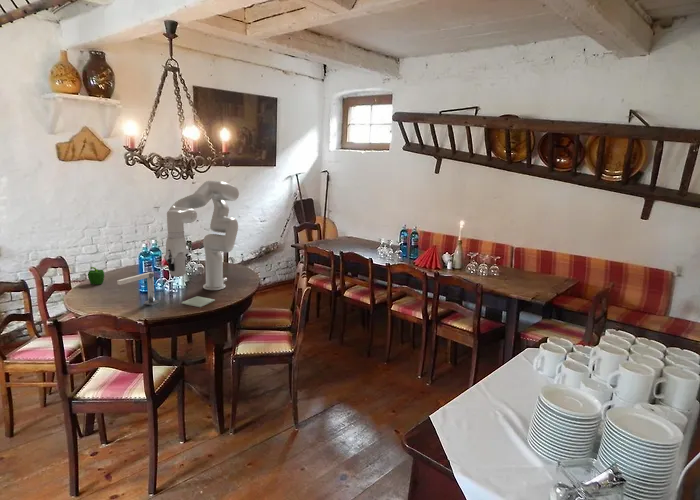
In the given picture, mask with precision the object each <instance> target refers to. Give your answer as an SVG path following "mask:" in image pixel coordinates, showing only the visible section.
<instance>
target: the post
mask: <svg viewBox="0 0 700 500" xmlns="http://www.w3.org/2000/svg"><path fill="white" fill-rule="evenodd" d="M154 277H155V276H154ZM154 277H148V278H146V279H147V280H146V282H147V283H146V285H147V299H148V300H146V301H143V305H147V306H155V305H157V304H159V303H160V300H158V299H156V298H155V279H154Z"/></svg>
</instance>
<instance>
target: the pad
mask: <svg viewBox="0 0 700 500" xmlns="http://www.w3.org/2000/svg"><path fill="white" fill-rule="evenodd" d="M213 302H216V299H213V298H209V297H204V296H198V295H196V296H194V297H191V298H189V299H187V300H184V301H182V302H181V304H182V305H187V306H190V307H191V306H193V307H197V308H202V307H204V306H206V305H209V304H212V303H213Z"/></svg>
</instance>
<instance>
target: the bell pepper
mask: <svg viewBox="0 0 700 500" xmlns="http://www.w3.org/2000/svg"><path fill="white" fill-rule="evenodd" d="M87 278H88V281H89V283H90V284H91V285H97V286H98V285H101V284H103V283H104V281H105V271H104V270H103V269H99V268H98V269H97V268H96V267H95V266H92V267H91V266H90V269H89V271H88V273H87Z"/></svg>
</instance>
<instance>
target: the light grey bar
mask: <svg viewBox="0 0 700 500" xmlns="http://www.w3.org/2000/svg"><path fill="white" fill-rule="evenodd" d="M148 277H155V272H154V271H148V272H145V273H141V274H137V275H132V276H129V277H125V278H122V279H118V280H116V281H117V283H116V284H117V285H119V286H123V285H125V284H129V283H133V282H136V281H139V280H144V279H147V278H148Z"/></svg>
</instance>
